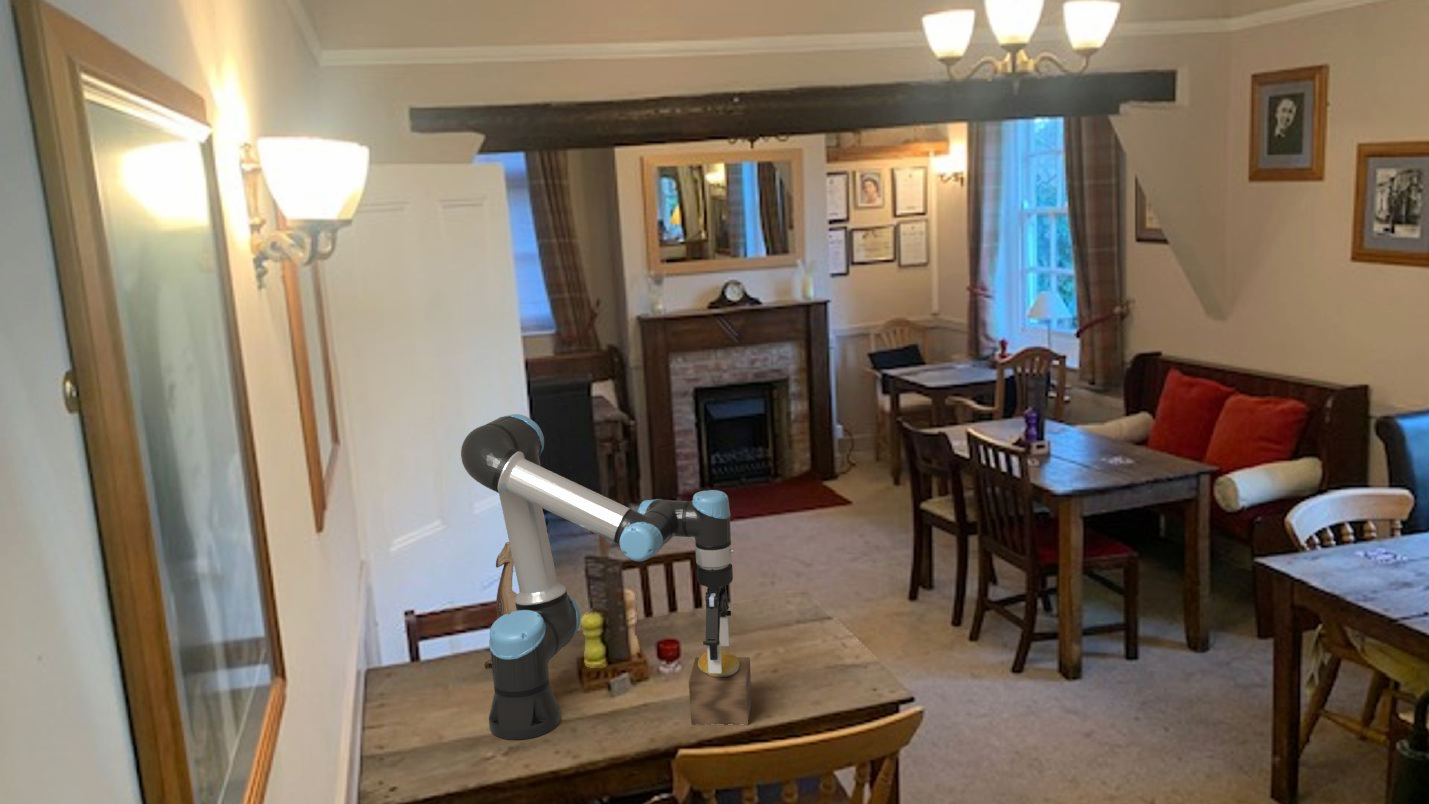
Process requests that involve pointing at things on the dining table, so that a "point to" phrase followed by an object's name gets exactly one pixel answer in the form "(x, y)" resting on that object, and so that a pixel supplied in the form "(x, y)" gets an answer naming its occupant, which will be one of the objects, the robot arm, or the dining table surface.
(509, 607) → the bird sculpture
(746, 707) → the walnut block
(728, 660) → the bread roll
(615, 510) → the robot arm
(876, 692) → the dining table surface
